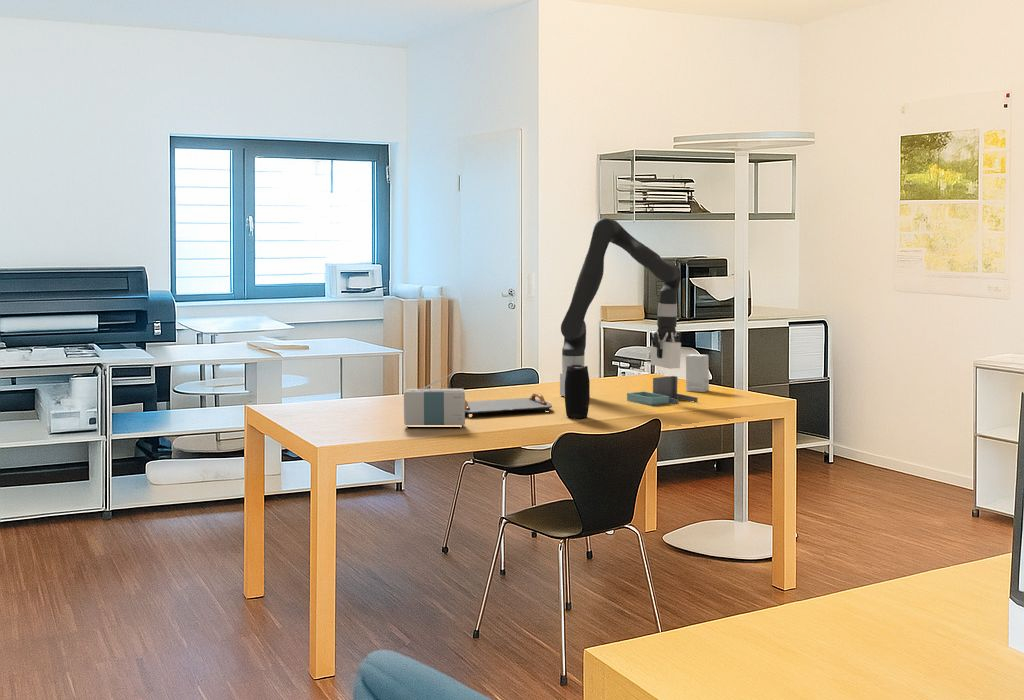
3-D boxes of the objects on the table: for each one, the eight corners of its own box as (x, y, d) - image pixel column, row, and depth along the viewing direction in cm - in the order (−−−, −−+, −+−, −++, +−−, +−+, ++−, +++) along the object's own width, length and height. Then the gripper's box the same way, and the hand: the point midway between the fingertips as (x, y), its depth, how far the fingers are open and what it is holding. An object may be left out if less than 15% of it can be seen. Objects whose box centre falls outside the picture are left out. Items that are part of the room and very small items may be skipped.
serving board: (462, 420, 375) (462, 403, 374) (442, 410, 396) (442, 394, 396) (559, 413, 389) (559, 397, 389) (535, 404, 411) (535, 389, 410)
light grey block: (669, 368, 402) (671, 340, 401) (650, 364, 413) (651, 336, 411) (679, 368, 405) (681, 339, 404) (660, 364, 415) (661, 336, 414)
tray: (651, 405, 404) (651, 398, 403) (627, 400, 417) (627, 393, 417) (669, 403, 408) (669, 396, 408) (644, 398, 422) (644, 391, 421)
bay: (676, 404, 406) (677, 382, 405) (652, 399, 419) (653, 377, 418) (697, 402, 411) (697, 380, 411) (673, 397, 424) (673, 375, 423)
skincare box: (709, 390, 443) (709, 354, 441) (703, 392, 438) (704, 356, 436) (690, 389, 448) (691, 353, 446) (684, 391, 442) (685, 355, 440)
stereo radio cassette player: (403, 429, 355) (403, 372, 353) (406, 425, 364) (405, 368, 361) (464, 429, 355) (464, 371, 353) (465, 425, 364) (465, 368, 361)
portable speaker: (593, 417, 377) (594, 366, 375) (573, 420, 372) (573, 368, 370) (580, 414, 384) (580, 363, 382) (560, 416, 379) (560, 365, 377)
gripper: (675, 313, 413) (673, 355, 415) (646, 314, 406) (645, 357, 408) (687, 315, 407) (685, 358, 409) (659, 316, 399) (657, 359, 402)
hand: (665, 357), depth 408 cm, fingers closed on light grey block, 5 cm apart
